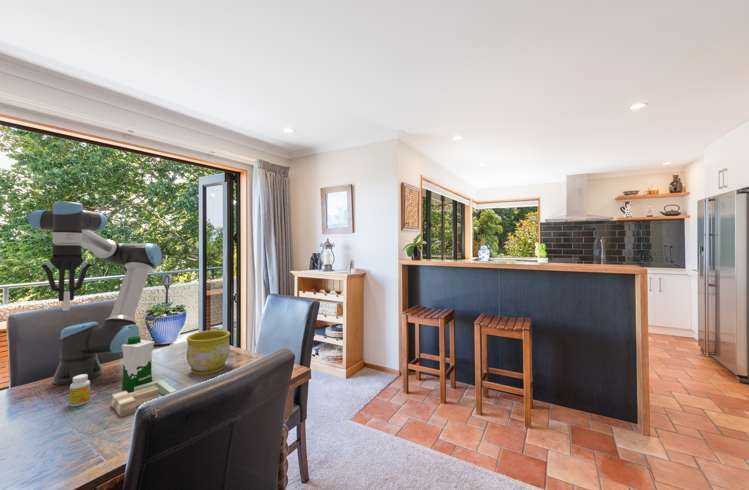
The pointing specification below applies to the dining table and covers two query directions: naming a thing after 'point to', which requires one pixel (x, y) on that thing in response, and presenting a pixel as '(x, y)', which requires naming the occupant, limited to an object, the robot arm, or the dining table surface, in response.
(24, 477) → the dining table surface
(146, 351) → the milk carton
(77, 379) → the supplement bottle
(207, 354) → the flowerpot
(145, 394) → the t block
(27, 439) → the dining table surface
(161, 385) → the corner stop
